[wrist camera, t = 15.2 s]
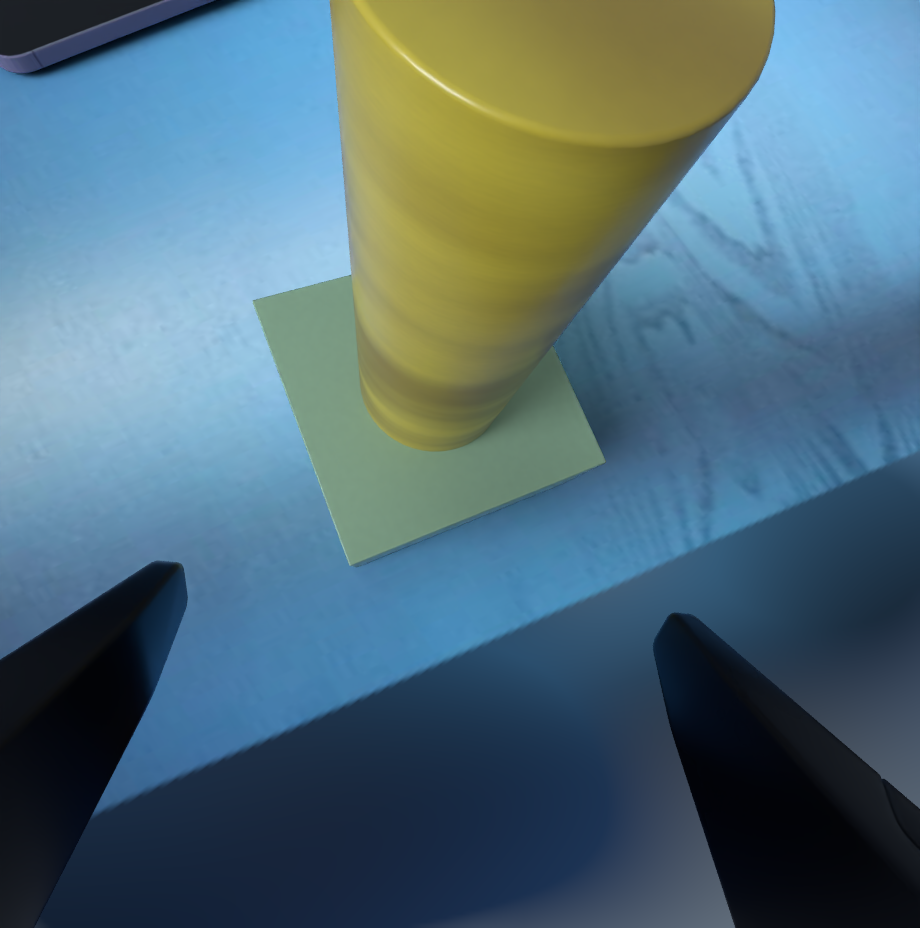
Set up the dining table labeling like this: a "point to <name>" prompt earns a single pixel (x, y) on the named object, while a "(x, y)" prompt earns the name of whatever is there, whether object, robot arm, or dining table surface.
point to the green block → (396, 465)
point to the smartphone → (73, 27)
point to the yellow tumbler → (511, 176)
